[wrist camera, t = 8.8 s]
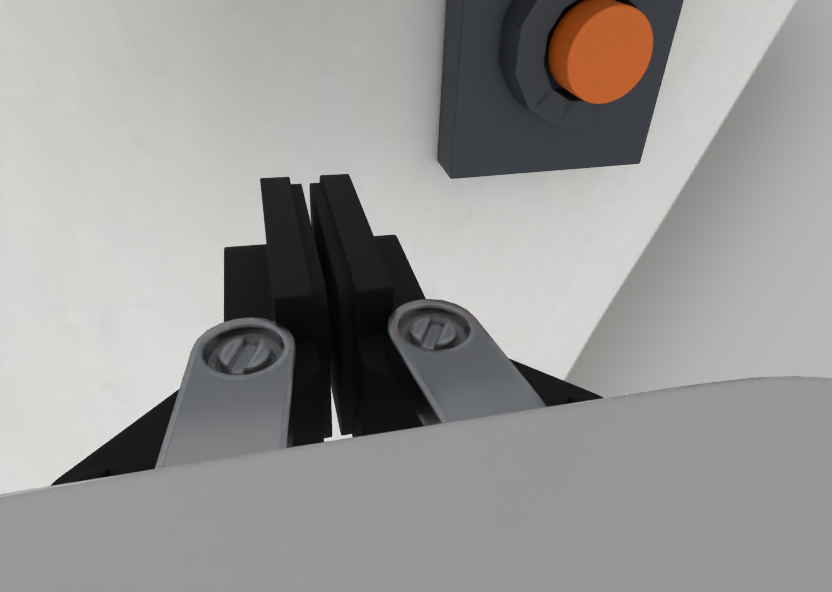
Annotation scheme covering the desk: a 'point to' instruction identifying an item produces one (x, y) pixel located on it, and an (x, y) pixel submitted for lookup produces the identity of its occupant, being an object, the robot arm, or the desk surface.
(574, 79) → the button
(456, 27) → the control block
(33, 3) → the desk surface
